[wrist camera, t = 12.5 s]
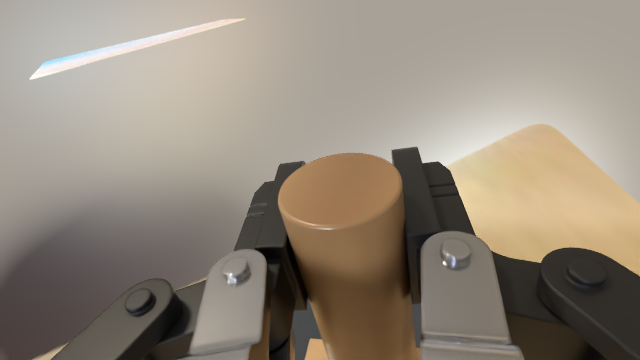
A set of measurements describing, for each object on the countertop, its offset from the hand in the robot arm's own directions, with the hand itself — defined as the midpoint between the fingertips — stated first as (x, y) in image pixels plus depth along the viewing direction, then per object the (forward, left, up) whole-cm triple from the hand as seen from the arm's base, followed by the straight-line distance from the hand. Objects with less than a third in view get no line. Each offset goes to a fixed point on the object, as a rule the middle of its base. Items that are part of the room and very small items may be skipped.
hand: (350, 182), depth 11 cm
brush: (0, -3, -11) cm, 11 cm away
